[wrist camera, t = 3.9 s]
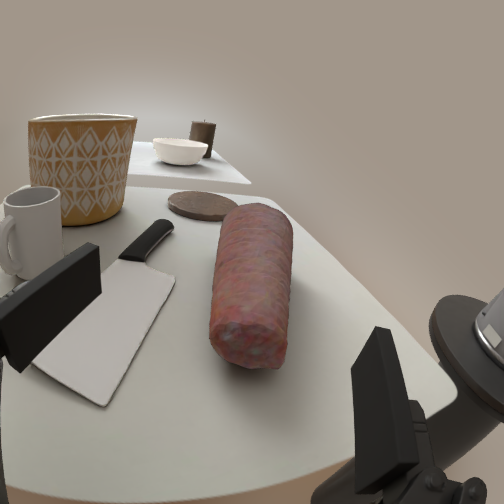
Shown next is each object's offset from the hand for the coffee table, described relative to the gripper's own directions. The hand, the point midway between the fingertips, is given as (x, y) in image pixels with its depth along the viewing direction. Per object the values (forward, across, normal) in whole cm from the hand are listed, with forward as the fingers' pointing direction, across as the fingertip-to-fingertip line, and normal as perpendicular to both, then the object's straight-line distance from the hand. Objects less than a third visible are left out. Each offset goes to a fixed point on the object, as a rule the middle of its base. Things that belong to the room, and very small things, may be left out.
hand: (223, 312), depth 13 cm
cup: (+9, -25, -11) cm, 29 cm away
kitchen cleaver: (+14, -13, -11) cm, 22 cm away
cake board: (+43, -15, -11) cm, 47 cm away
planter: (+28, -34, -11) cm, 45 cm away
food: (+16, -1, -11) cm, 20 cm away
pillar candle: (+102, -39, -11) cm, 110 cm away
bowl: (+80, -37, -11) cm, 89 cm away
